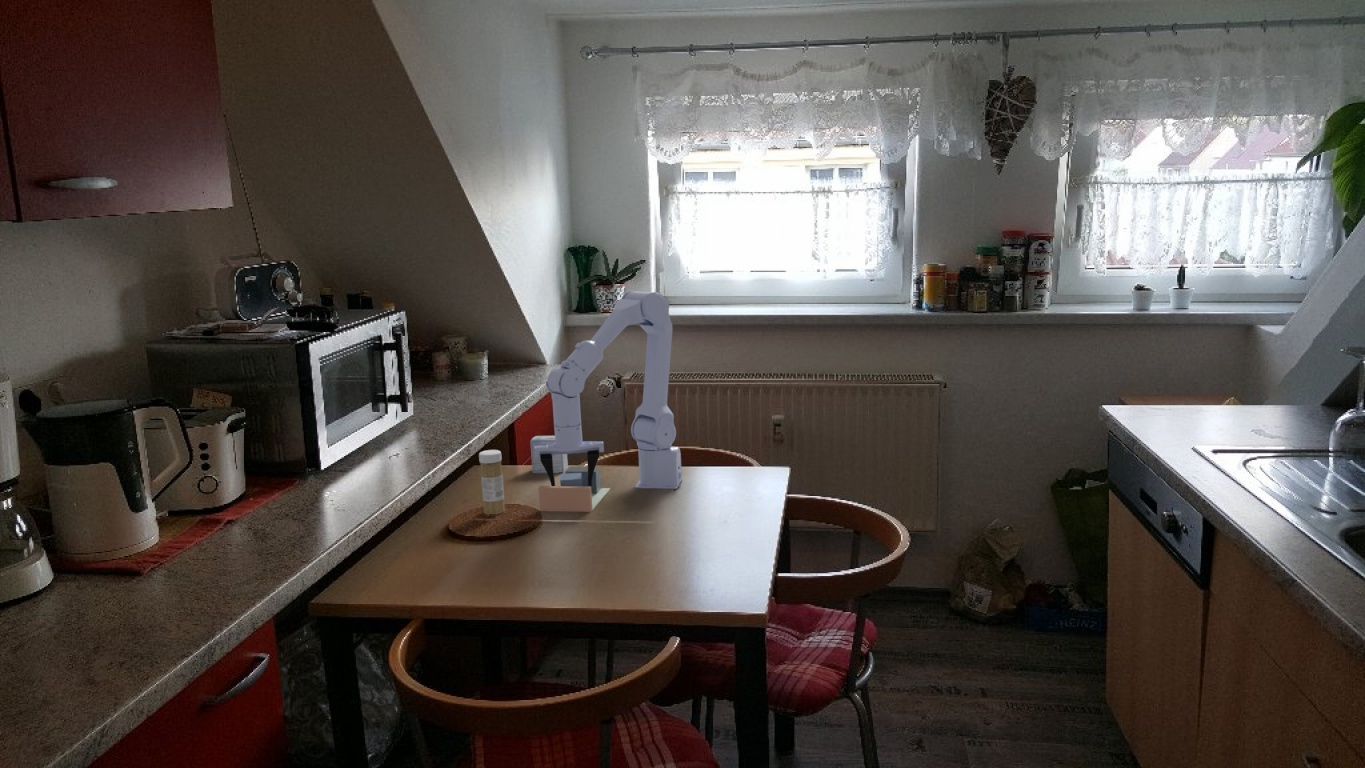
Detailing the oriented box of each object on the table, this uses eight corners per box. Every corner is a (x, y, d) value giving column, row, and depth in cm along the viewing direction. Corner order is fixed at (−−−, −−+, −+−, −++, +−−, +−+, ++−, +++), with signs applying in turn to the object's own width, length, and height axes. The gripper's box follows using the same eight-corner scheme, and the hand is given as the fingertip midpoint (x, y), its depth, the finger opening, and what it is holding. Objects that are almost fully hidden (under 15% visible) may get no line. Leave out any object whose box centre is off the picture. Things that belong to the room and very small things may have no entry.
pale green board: (610, 489, 219) (609, 466, 218) (591, 513, 203) (589, 488, 202) (563, 489, 221) (561, 466, 220) (540, 512, 205) (538, 487, 204)
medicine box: (568, 469, 238) (566, 435, 237) (564, 474, 234) (562, 439, 232) (536, 470, 239) (534, 435, 237) (532, 475, 235) (529, 439, 233)
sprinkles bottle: (498, 509, 208) (494, 448, 205) (509, 513, 204) (505, 451, 202) (479, 514, 205) (474, 452, 203) (490, 518, 202) (485, 455, 199)
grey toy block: (601, 488, 219) (600, 466, 218) (597, 493, 215) (595, 471, 214) (571, 488, 220) (570, 466, 219) (566, 493, 216) (565, 471, 216)
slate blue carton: (582, 499, 211) (581, 472, 210) (583, 506, 206) (581, 478, 205) (561, 501, 211) (560, 474, 210) (561, 507, 206) (560, 480, 205)
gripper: (601, 418, 210) (604, 478, 213) (533, 422, 209) (537, 483, 211) (602, 425, 204) (606, 487, 206) (532, 429, 202) (537, 493, 204)
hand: (571, 486), depth 208 cm, fingers open, 7 cm apart
